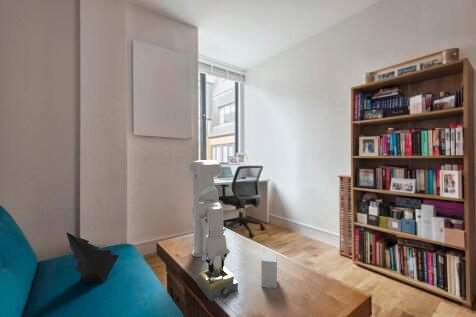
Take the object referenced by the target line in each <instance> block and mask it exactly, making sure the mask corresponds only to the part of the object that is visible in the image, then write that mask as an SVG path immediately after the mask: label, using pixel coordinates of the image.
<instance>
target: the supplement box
mask: <svg viewBox="0 0 476 317" xmlns="http://www.w3.org/2000/svg"><path fill="white" fill-rule="evenodd" d="M277 257H278V256H277V254H276V255H273V254H262V256H261V263H260V264H261V267H260V268H261V269H260V270H261V287H262V288H263V287H264V288H269V289H270V288H271V289H273V288H274V289H277V288H278V287H277V286H278V258H277Z"/></svg>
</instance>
